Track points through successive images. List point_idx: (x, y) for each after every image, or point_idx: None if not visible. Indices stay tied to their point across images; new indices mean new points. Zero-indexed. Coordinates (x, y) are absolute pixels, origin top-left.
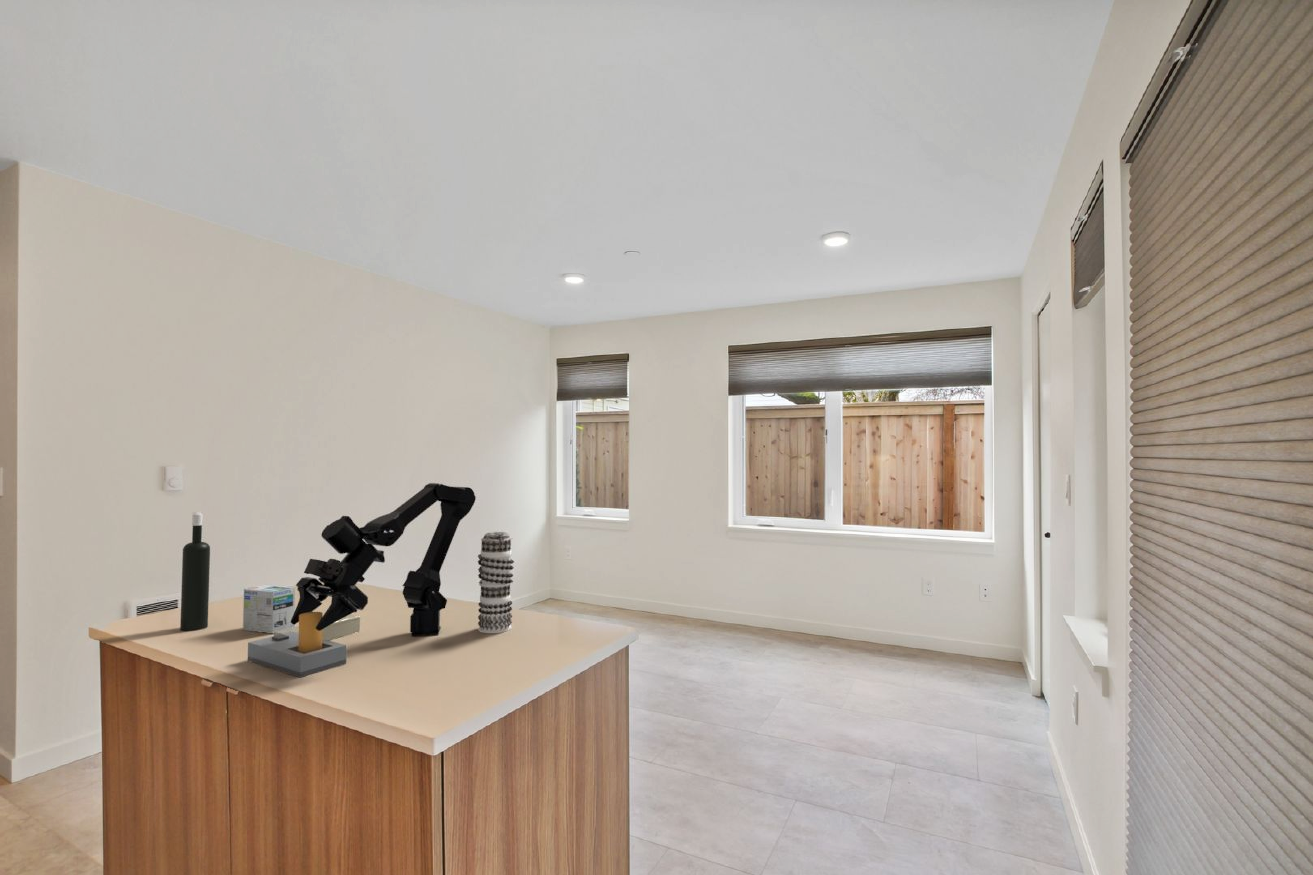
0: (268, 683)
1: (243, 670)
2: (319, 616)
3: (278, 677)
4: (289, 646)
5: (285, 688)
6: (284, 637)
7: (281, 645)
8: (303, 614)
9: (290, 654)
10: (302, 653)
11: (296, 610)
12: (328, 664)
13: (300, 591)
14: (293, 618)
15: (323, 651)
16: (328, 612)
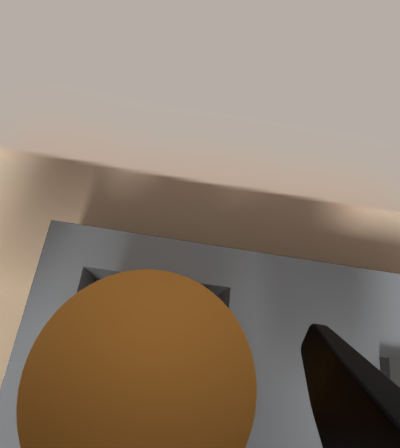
0: (128, 171)
1: (315, 223)
2: (25, 409)
3: (149, 219)
4: (255, 320)
5: (35, 158)
6: None
7: (302, 314)
8: (209, 340)
9: (135, 233)
10: (94, 265)
11: (390, 396)
12: None
13: None
14: (323, 339)
15: (17, 337)
16: None
